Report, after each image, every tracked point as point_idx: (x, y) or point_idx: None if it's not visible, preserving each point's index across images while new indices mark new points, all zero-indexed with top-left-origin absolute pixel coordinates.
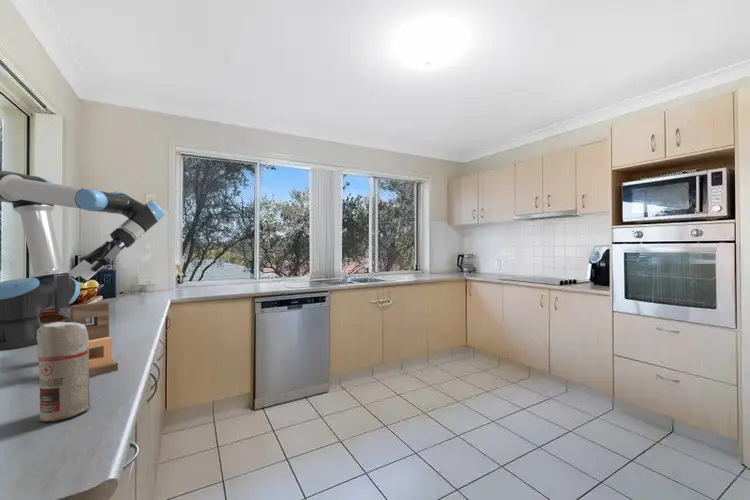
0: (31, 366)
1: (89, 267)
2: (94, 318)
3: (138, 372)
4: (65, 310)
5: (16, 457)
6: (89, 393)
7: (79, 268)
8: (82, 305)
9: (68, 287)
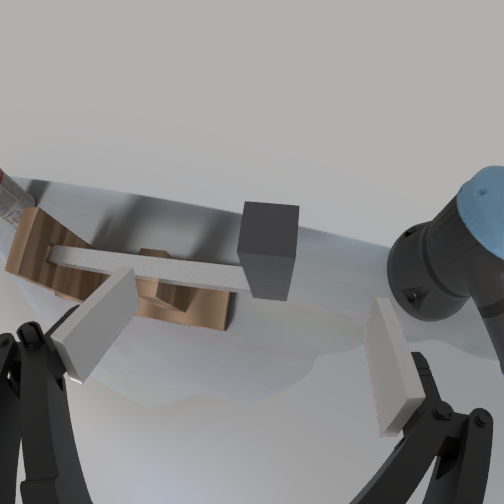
0: (206, 237)
1: (88, 299)
2: (46, 263)
3: (36, 304)
4: (186, 261)
5: (13, 180)
6: (7, 221)
7: (382, 357)
8: (22, 223)
9: (245, 274)
